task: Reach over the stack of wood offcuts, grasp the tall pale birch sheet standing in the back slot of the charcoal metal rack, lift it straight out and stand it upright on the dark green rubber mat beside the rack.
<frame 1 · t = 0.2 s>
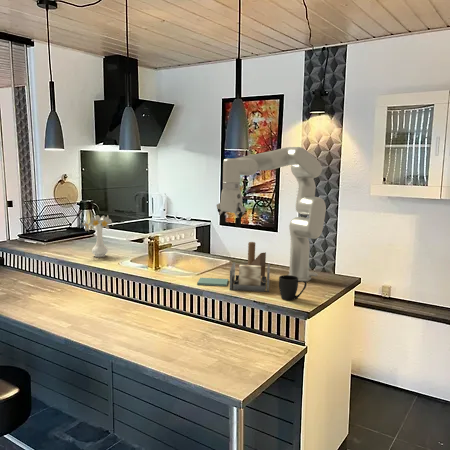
hand: (230, 225, 199), 30 cm above the counter, tool pointing down, fingers open, 9 cm apart
flower vase: (99, 256, 269), on the counter
mat: (213, 282, 216), on the counter
offcut stack: (250, 284, 216), resting in rack
rack: (249, 288, 208), on the counter
mug: (291, 299, 193), on the counter
birch sheet: (249, 288, 207), resting in rack
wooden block: (255, 278, 227), on the counter
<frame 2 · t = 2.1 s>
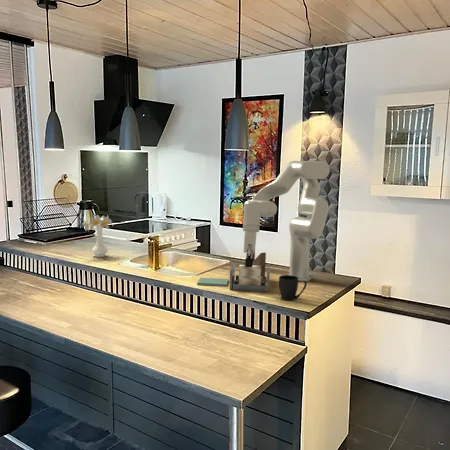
hand: (249, 264, 205), 12 cm above the counter, tool pointing down, fingers open, 9 cm apart
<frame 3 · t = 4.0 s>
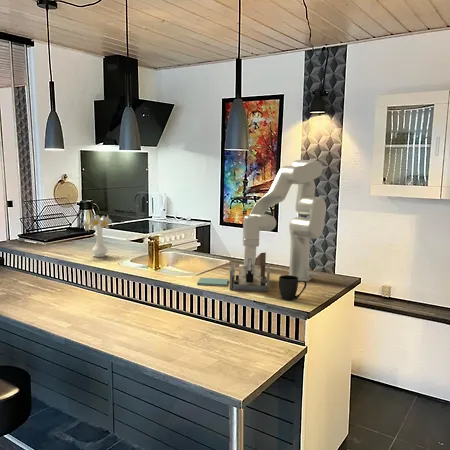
hand: (249, 281, 207), 4 cm above the counter, tool pointing down, fingers closed on birch sheet, 2 cm apart
birch sheet: (249, 288, 207), resting in rack, touching gripper
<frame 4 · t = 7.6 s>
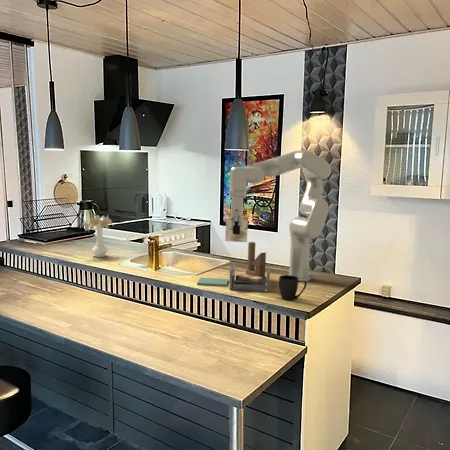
hand: (236, 233, 207), 25 cm above the counter, tool pointing down, fingers closed on birch sheet, 2 cm apart
birch sheet: (236, 241, 207), point 22 cm above the counter, touching gripper
everything else where it was.
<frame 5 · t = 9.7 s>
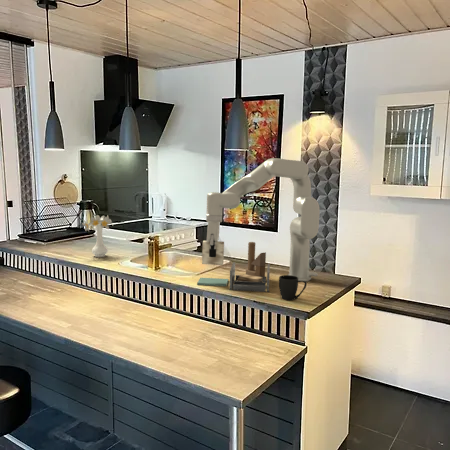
hand: (212, 256, 214), 13 cm above the counter, tool pointing down, fingers closed on birch sheet, 2 cm apart
birch sheet: (212, 264, 215), point 9 cm above the counter, touching gripper
everything else where it was.
when the fingers open (6 cm above the counter, at t = 11.5 s): birch sheet stays where it is, resting on mat.
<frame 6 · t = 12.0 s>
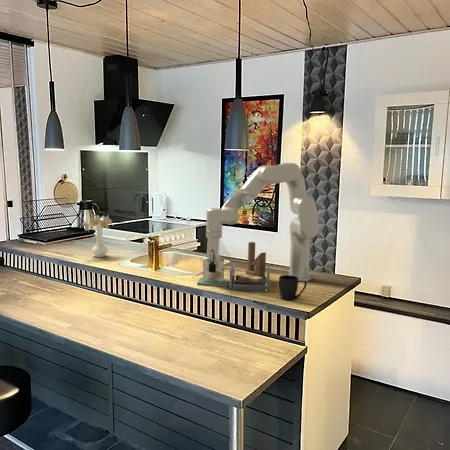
hand: (213, 270, 215), 6 cm above the counter, tool pointing down, fingers open, 7 cm apart
birch sheet: (213, 280, 216), point 1 cm above the counter, touching mat
everything else where it was.
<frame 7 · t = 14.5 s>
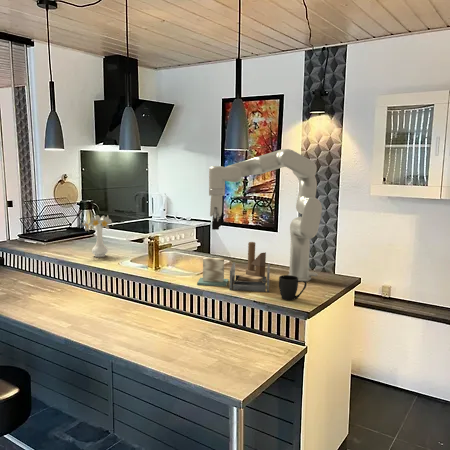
hand: (216, 227, 214), 27 cm above the counter, tool pointing down, fingers open, 9 cm apart
nothing on the counter moved.
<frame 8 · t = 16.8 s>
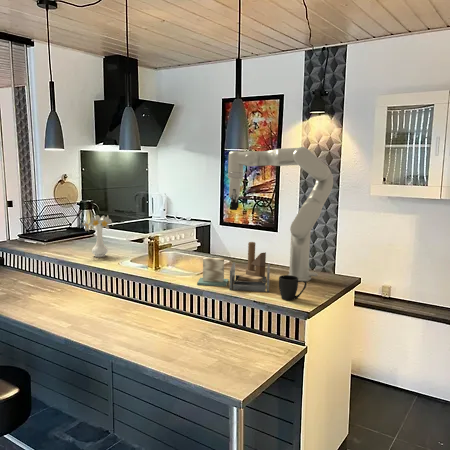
hand: (234, 208, 230), 34 cm above the counter, tool pointing down, fingers open, 9 cm apart
nothing on the counter moved.
at the end: birch sheet inside the target area on the mat (0.1 cm from its centre), point 1.0 cm above the mat's base; birch sheet tilted 0°; the gripper is holding nothing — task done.
